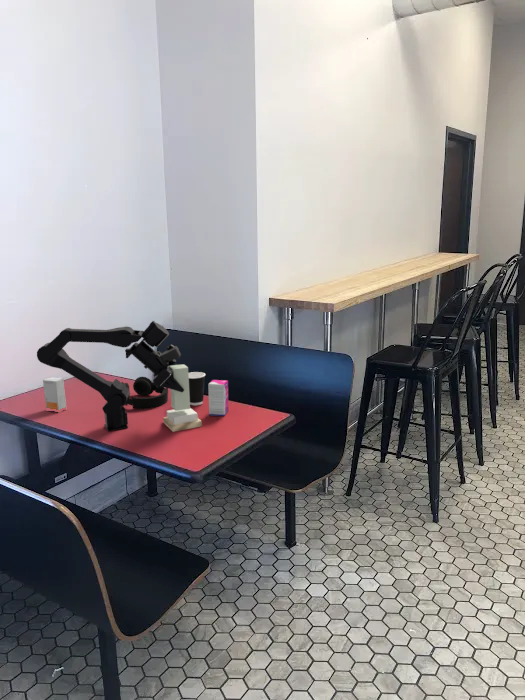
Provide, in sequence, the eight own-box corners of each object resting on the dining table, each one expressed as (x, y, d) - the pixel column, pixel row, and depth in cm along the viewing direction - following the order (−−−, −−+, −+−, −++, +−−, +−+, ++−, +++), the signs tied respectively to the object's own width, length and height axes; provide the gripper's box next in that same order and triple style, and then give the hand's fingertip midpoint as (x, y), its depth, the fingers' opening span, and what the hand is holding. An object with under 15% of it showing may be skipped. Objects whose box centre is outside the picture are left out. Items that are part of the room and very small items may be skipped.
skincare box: (45, 411, 212) (42, 379, 210) (54, 408, 216) (50, 376, 213) (59, 413, 210) (55, 381, 207) (67, 409, 214) (63, 378, 211)
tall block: (175, 410, 190) (173, 369, 187) (171, 406, 195) (169, 365, 192) (190, 408, 192) (188, 367, 189) (186, 404, 197) (184, 364, 194)
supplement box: (225, 416, 202) (223, 384, 199) (208, 415, 203) (207, 384, 200) (229, 411, 207) (228, 379, 205) (213, 410, 208) (211, 379, 206)
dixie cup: (181, 403, 218) (179, 374, 215) (199, 398, 222) (198, 370, 220) (192, 408, 211) (190, 378, 209) (210, 403, 216) (209, 374, 214)
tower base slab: (172, 433, 189) (172, 426, 188) (163, 424, 197) (163, 417, 197) (201, 428, 193) (201, 420, 192) (191, 419, 202) (191, 412, 201)
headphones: (144, 371, 232) (178, 385, 220) (144, 390, 234) (178, 404, 222) (106, 382, 219) (140, 397, 207) (107, 401, 221) (140, 418, 209)
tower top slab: (174, 424, 189) (174, 417, 189) (166, 417, 196) (166, 410, 196) (197, 420, 193) (197, 413, 192) (189, 413, 200) (189, 406, 199)
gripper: (161, 345, 179) (199, 378, 182) (168, 333, 197) (202, 364, 200) (137, 370, 181) (175, 403, 184) (146, 356, 199) (180, 386, 202)
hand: (184, 388), depth 192 cm, fingers closed on tall block, 6 cm apart
